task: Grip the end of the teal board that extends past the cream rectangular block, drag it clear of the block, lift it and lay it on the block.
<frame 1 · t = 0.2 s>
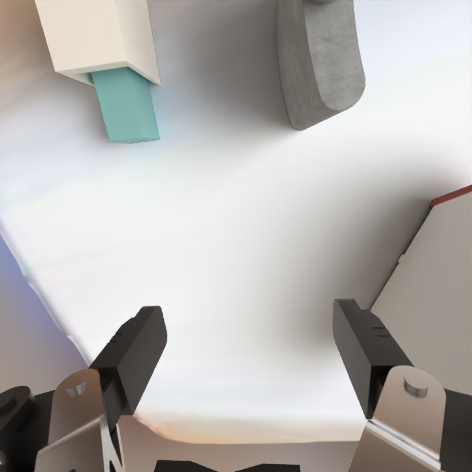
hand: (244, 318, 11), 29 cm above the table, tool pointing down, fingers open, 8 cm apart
cream rectangular block: (125, 46, 33), on the table
hip flask: (292, 66, 32), on the table
teal board: (134, 88, 35), on the table
model house: (423, 265, 40), on the table
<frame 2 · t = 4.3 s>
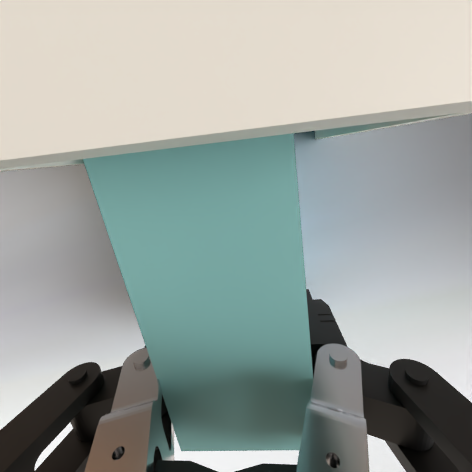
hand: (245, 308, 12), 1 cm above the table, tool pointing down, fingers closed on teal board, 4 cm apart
cream rectangular block: (220, 7, 9), on the table
teal board: (231, 202, 11), on the table, touching gripper
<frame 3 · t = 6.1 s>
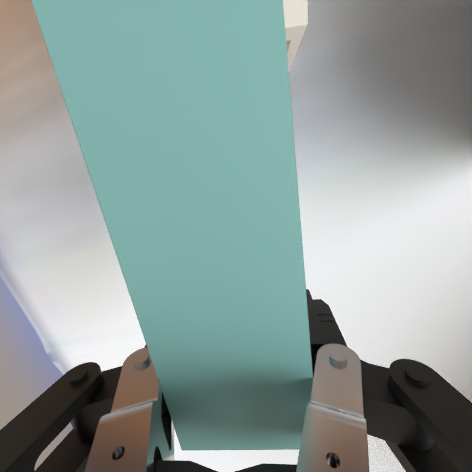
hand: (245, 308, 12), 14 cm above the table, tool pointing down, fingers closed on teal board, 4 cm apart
cream rectangular block: (233, 17, 20), on the table
teal board: (231, 203, 12), point 13 cm above the table, touching gripper
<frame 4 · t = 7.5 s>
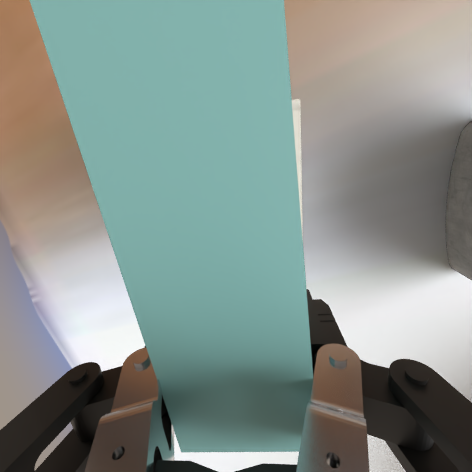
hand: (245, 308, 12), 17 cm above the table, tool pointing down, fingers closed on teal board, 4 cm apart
cream rectangular block: (248, 174, 26), on the table
hip flask: (464, 202, 25), on the table
teal board: (231, 203, 11), point 16 cm above the table, touching gripper
when the fingers open (11 cm above the table, at t = 8.8 s): teal board stays where it is, resting on cream rectangular block.
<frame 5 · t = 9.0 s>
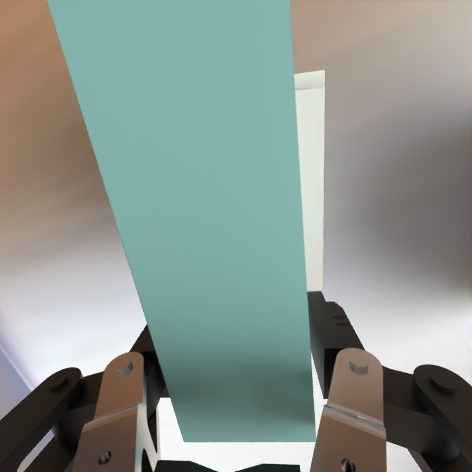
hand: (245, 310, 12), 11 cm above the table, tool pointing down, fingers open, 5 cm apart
cream rectangular block: (246, 180, 21), on the table
teal board: (234, 203, 12), point 9 cm above the table, touching cream rectangular block
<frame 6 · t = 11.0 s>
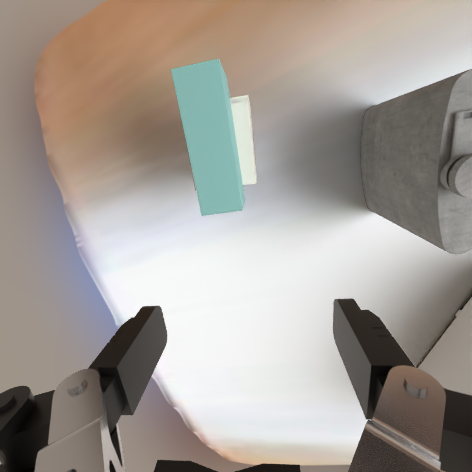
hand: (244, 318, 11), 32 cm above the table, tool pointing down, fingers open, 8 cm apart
cream rectangular block: (228, 146, 39), on the table
hip flask: (372, 162, 38), on the table
teal board: (218, 146, 30), point 9 cm above the table, touching cream rectangular block
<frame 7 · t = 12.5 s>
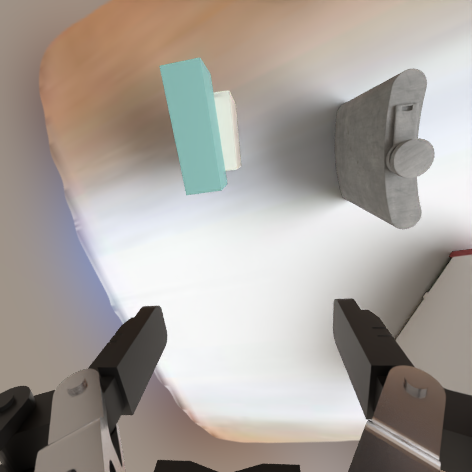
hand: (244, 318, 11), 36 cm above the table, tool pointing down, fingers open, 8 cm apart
cream rectangular block: (215, 138, 43), on the table
hip flask: (345, 154, 42), on the table
teal board: (203, 135, 34), point 9 cm above the table, touching cream rectangular block
model house: (443, 300, 49), on the table
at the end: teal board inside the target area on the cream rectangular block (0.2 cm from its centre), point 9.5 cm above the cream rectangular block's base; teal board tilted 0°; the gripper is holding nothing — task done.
